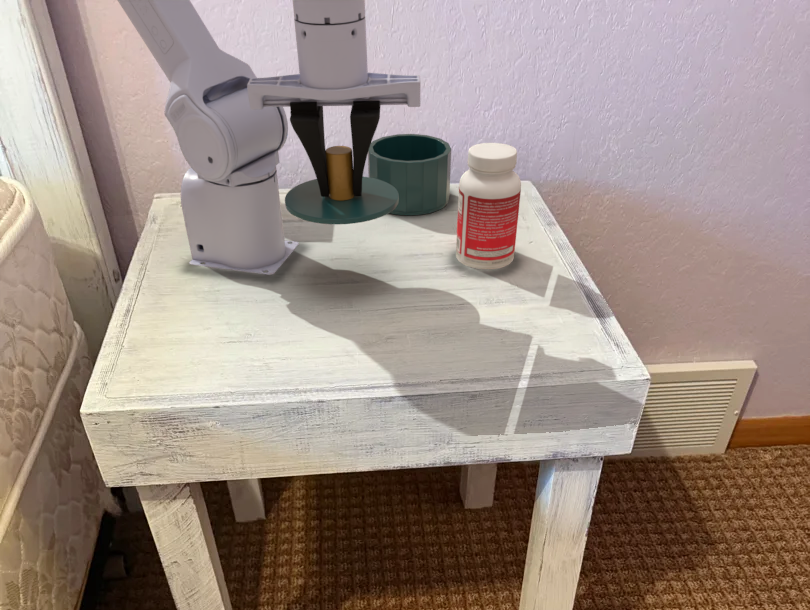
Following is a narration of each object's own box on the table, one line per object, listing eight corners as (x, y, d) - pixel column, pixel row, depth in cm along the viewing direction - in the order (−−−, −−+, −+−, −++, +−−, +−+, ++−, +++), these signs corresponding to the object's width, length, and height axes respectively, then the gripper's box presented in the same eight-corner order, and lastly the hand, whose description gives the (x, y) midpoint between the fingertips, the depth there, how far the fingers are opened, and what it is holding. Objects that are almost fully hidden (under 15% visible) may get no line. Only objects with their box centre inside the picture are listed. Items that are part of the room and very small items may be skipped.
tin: (359, 210, 90) (357, 157, 86) (382, 181, 97) (381, 130, 93) (438, 219, 88) (440, 165, 84) (456, 188, 95) (458, 137, 91)
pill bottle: (525, 264, 80) (538, 153, 72) (479, 279, 78) (487, 166, 70) (489, 243, 84) (497, 135, 76) (443, 257, 82) (448, 146, 74)
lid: (296, 237, 67) (289, 177, 63) (278, 193, 74) (271, 137, 71) (412, 223, 69) (411, 163, 65) (383, 181, 76) (381, 126, 73)
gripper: (419, 5, 64) (419, 175, 73) (246, 8, 64) (269, 177, 73) (421, 24, 59) (420, 203, 68) (233, 27, 59) (259, 206, 68)
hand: (342, 192), depth 71 cm, fingers closed on lid, 2 cm apart
